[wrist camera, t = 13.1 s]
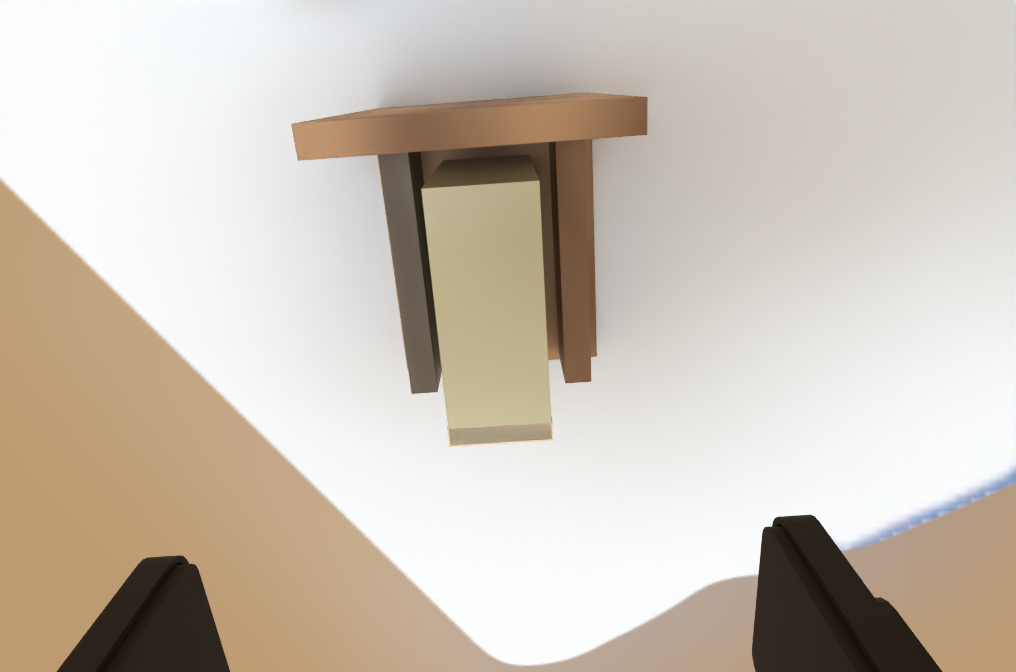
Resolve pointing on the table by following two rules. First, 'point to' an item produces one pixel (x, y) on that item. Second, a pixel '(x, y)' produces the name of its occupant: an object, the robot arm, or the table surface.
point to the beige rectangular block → (489, 298)
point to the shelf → (477, 134)
